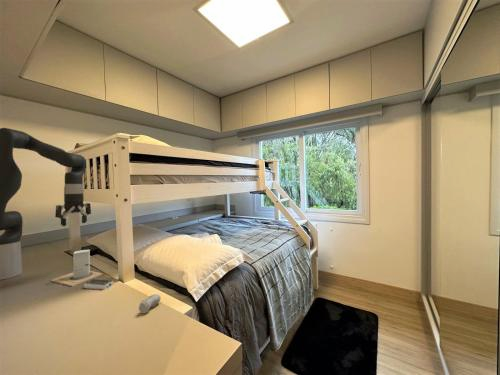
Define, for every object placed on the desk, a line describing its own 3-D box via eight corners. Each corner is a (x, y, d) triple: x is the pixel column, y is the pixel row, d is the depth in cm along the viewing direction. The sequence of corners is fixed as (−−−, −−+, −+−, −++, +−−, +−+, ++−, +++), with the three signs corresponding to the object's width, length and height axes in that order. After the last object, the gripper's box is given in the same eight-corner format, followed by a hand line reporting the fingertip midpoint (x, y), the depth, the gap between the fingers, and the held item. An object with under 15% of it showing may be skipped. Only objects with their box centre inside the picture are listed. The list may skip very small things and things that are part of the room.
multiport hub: (93, 284, 93) (93, 279, 93) (113, 285, 91) (113, 280, 91) (83, 288, 89) (83, 283, 89) (105, 290, 87) (104, 285, 87)
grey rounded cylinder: (153, 304, 77) (164, 301, 75) (135, 316, 69) (147, 314, 68) (150, 292, 77) (161, 290, 76) (132, 304, 70) (143, 301, 68)
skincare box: (73, 279, 97) (72, 253, 97) (74, 275, 101) (73, 251, 101) (89, 275, 100) (88, 251, 100) (90, 272, 104) (89, 248, 104)
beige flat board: (50, 281, 97) (50, 279, 97) (82, 270, 109) (81, 269, 109) (72, 286, 91) (72, 285, 91) (102, 274, 103) (102, 273, 103)
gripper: (85, 192, 112) (85, 221, 112) (52, 193, 99) (52, 226, 99) (93, 192, 109) (94, 222, 109) (60, 193, 96) (61, 227, 96)
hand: (74, 224), depth 104 cm, fingers open, 8 cm apart
